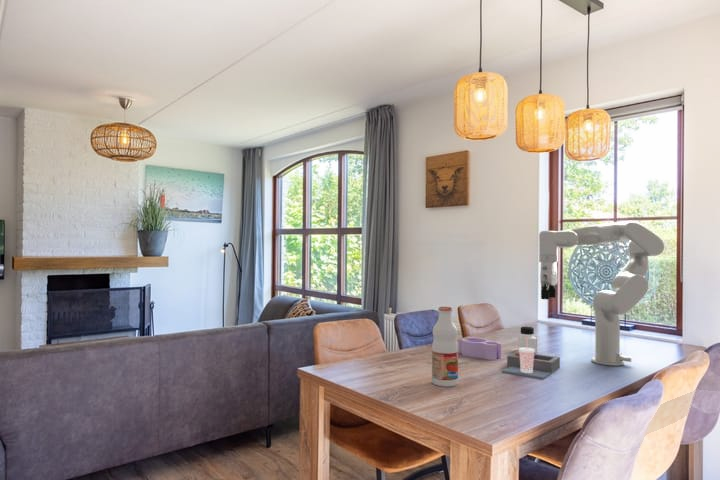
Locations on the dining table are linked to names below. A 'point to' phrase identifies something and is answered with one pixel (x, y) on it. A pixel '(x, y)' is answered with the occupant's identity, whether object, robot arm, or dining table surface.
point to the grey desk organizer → (537, 362)
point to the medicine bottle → (530, 339)
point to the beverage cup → (526, 359)
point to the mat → (534, 374)
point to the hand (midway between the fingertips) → (548, 298)
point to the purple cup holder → (479, 348)
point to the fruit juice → (445, 350)
